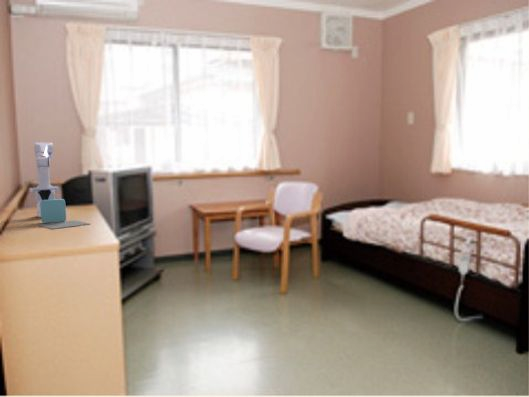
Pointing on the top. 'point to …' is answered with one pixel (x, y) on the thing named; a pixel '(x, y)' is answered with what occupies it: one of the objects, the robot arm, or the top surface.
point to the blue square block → (53, 210)
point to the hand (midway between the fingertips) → (45, 204)
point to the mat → (63, 224)
